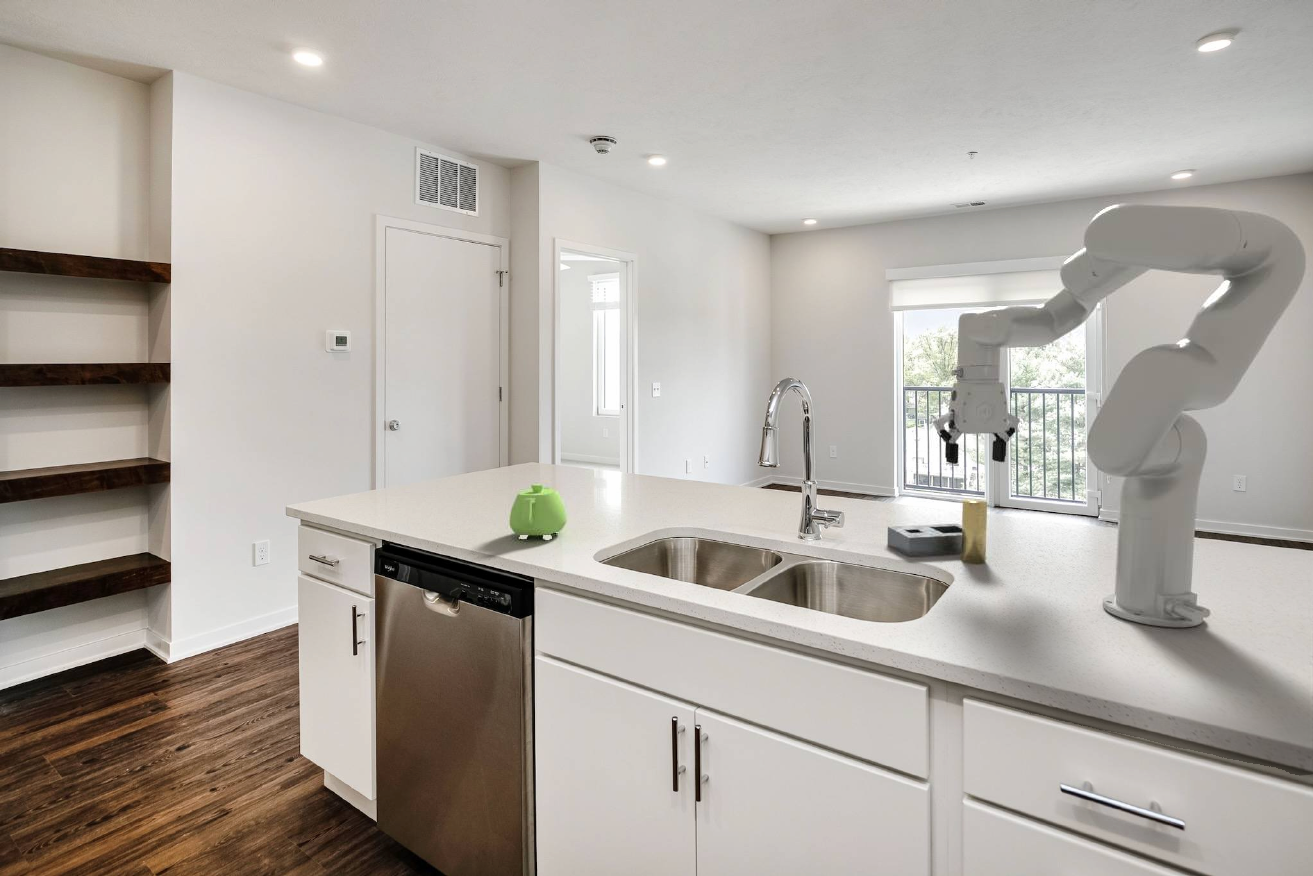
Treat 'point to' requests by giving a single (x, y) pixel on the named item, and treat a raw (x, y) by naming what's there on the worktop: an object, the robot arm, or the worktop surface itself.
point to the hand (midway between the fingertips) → (975, 462)
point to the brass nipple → (974, 531)
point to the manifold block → (926, 539)
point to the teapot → (538, 512)
